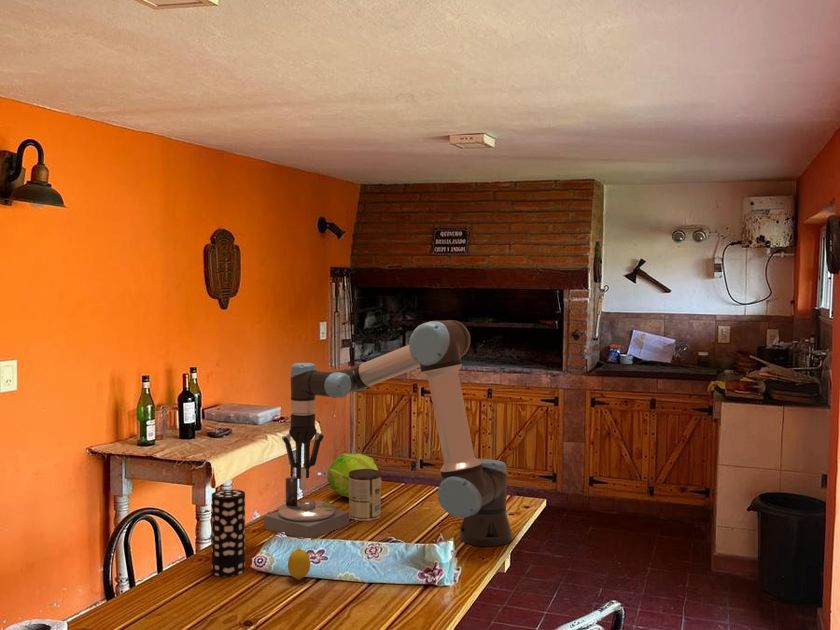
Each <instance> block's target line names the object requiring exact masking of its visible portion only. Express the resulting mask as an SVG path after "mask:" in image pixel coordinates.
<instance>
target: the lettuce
mask: <svg viewBox="0 0 840 630" xmlns="http://www.w3.org/2000/svg"><path fill="white" fill-rule="evenodd" d="M357 469H375V470H379V469H378V466H377V464H375V461H374V459H373V457H370V456H368V455H365V454H363V453H359V452H358V453H357V452H356V453H350V452H345V453H342V454H340V455H338V456H337V457H336V458H335V460H334V461H333V462H332V464H330V466H329V467H328V470H327V475H326V478H327V481H328V484H329V486H330V488H331V489H332V491H334V492H335V493H336V494H338V495H339V496H342V497H345V498H348V499H349V472H350V471H352V470H357ZM382 482H383V481H382V480H381V485H382Z"/></svg>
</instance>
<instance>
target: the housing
mask: <svg viewBox="0 0 840 630" xmlns="http://www.w3.org/2000/svg"><path fill="white" fill-rule="evenodd" d="M263 516H264V520H263V521H264V522H263V523H264V526H263V527H264V528H263V529H264V530H267V531H272V532H275V533H279V532H285V533H286V534H287V536H290V537H294V536H295V538H298V537H303V538H314V539H316V538H319V537H321V536H320V535H322V534H324V535H326V534H325V533H327V534H329V533H328V532H330V533H331V531H332V532H334V531H333V530H335V531H337V530H336V529H338V530H340V529H342V527H343V528H345V527H348V526H350V518H349V511H346V510H342V509H341V510H340V509H336V508H335V514H334V515H333V516H332V517H329V518H326V519H323V520H317V521H292V520H287V519H284V518H282V517H280V516H279V510H277V511H274V512H271V513H269V514H265V515H263ZM347 525H348V526H347ZM339 528H340V529H339ZM286 534H285V535H286ZM318 536H319V537H318ZM322 536H323V535H322ZM315 537H316V538H315Z"/></svg>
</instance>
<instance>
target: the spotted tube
mask: <svg viewBox="0 0 840 630" xmlns="http://www.w3.org/2000/svg"><path fill="white" fill-rule="evenodd" d="M245 571H246V492H245V491H243V490H240V489H222V490H216V491H214V492H212V493H211V573H212V574H213V575H214V576H217V577H234V576H239V575H241V574H243V573H244V572H245Z"/></svg>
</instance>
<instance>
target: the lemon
mask: <svg viewBox="0 0 840 630" xmlns="http://www.w3.org/2000/svg"><path fill="white" fill-rule="evenodd" d="M310 559H311V558H310V555H309V554H308V553H307V551H306V550H304V549H302V548H297V549H295V550H293V551H292V552H291V553H290V554H289V557H288V562H287V570H288V573H289V575H290V576H291V577H292V578H295V579H296V580H297V581H301V579H303V578H305V577H306V576H307V575H308V574H309V572H310V568H311V560H310Z"/></svg>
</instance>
